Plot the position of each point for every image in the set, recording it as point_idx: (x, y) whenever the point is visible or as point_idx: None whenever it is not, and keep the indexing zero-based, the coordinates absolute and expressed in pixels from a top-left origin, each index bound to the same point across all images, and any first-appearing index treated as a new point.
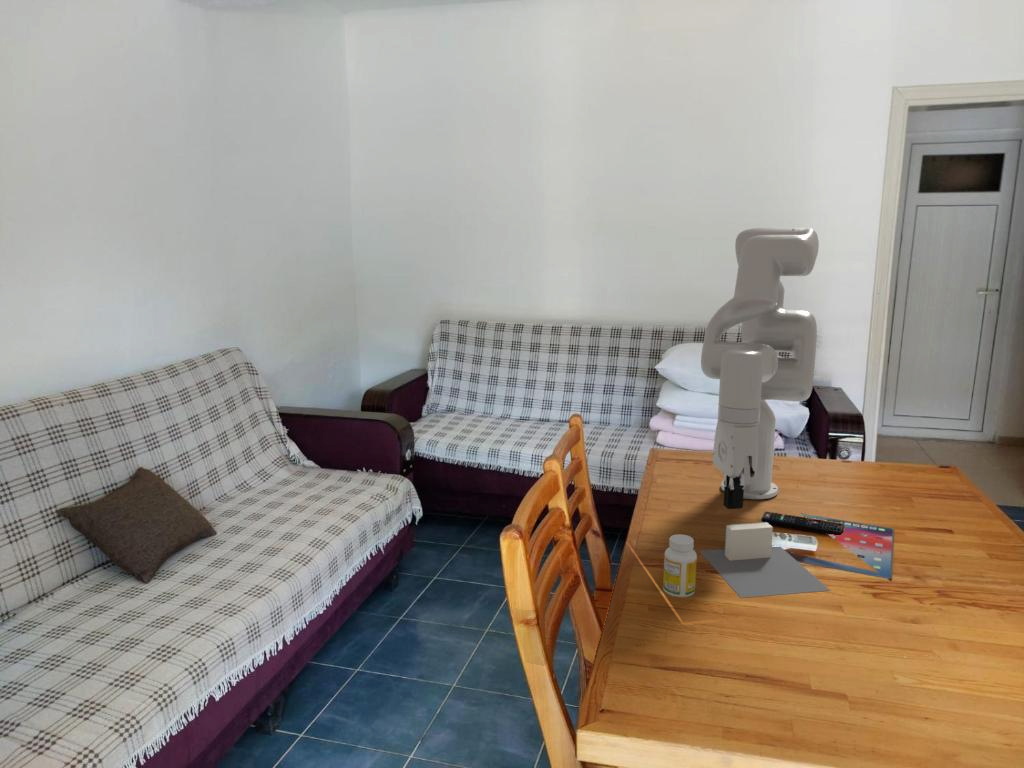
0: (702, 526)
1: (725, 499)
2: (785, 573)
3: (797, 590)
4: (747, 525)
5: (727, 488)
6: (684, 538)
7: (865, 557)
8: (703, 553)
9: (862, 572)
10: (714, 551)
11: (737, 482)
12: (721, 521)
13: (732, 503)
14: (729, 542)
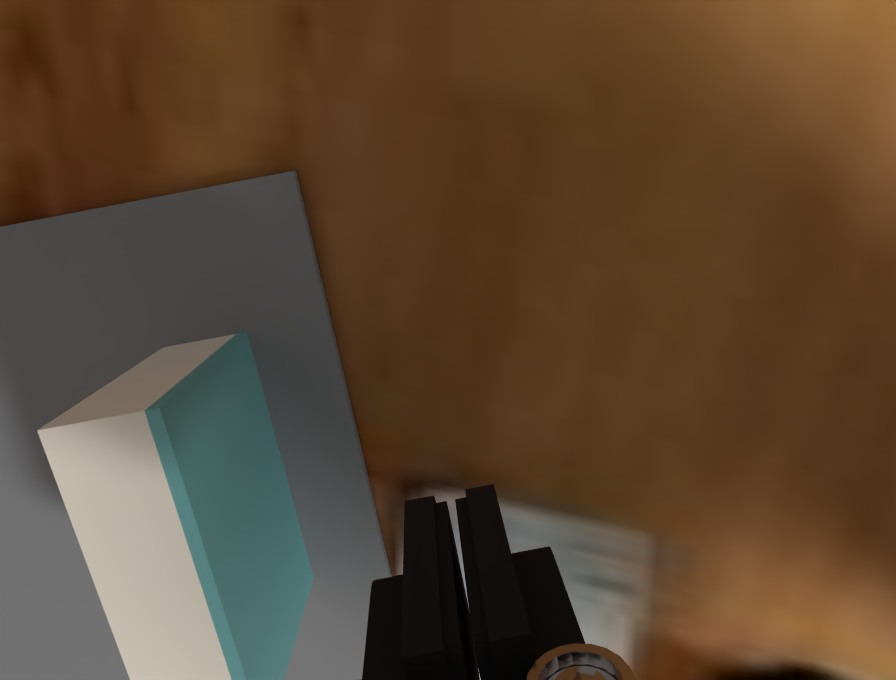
0: (743, 287)
1: (475, 535)
2: (34, 613)
3: None
4: (170, 586)
5: (433, 657)
6: None
7: None
8: (254, 193)
9: None
10: (294, 277)
11: None
12: (811, 432)
13: (379, 583)
14: (130, 381)
